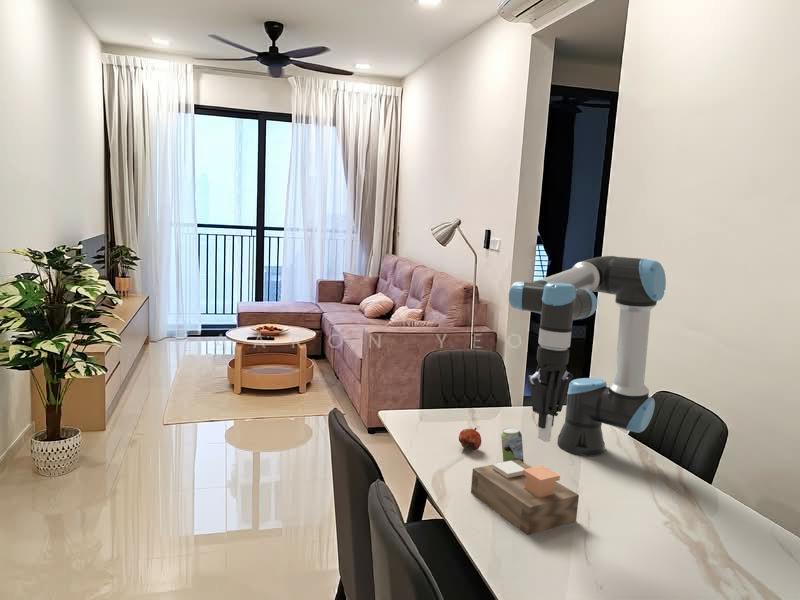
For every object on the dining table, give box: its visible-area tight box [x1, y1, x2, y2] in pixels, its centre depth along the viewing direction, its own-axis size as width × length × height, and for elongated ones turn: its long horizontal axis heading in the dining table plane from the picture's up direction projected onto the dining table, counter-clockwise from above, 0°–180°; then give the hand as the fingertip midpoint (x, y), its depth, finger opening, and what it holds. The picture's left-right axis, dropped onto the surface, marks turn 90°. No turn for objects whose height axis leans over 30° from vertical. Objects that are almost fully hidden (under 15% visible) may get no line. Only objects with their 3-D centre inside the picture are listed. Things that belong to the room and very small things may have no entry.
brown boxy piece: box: [470, 459, 580, 536], centre depth 157 cm, size 16×23×7 cm
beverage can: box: [501, 427, 525, 463], centre depth 180 cm, size 6×7×12 cm
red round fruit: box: [458, 427, 482, 454], centre depth 192 cm, size 7×7×10 cm
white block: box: [492, 461, 524, 478], centre depth 162 cm, size 6×6×8 cm
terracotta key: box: [523, 465, 561, 498], centre depth 151 cm, size 6×6×8 cm
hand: (544, 439), depth 149 cm, fingers closed
